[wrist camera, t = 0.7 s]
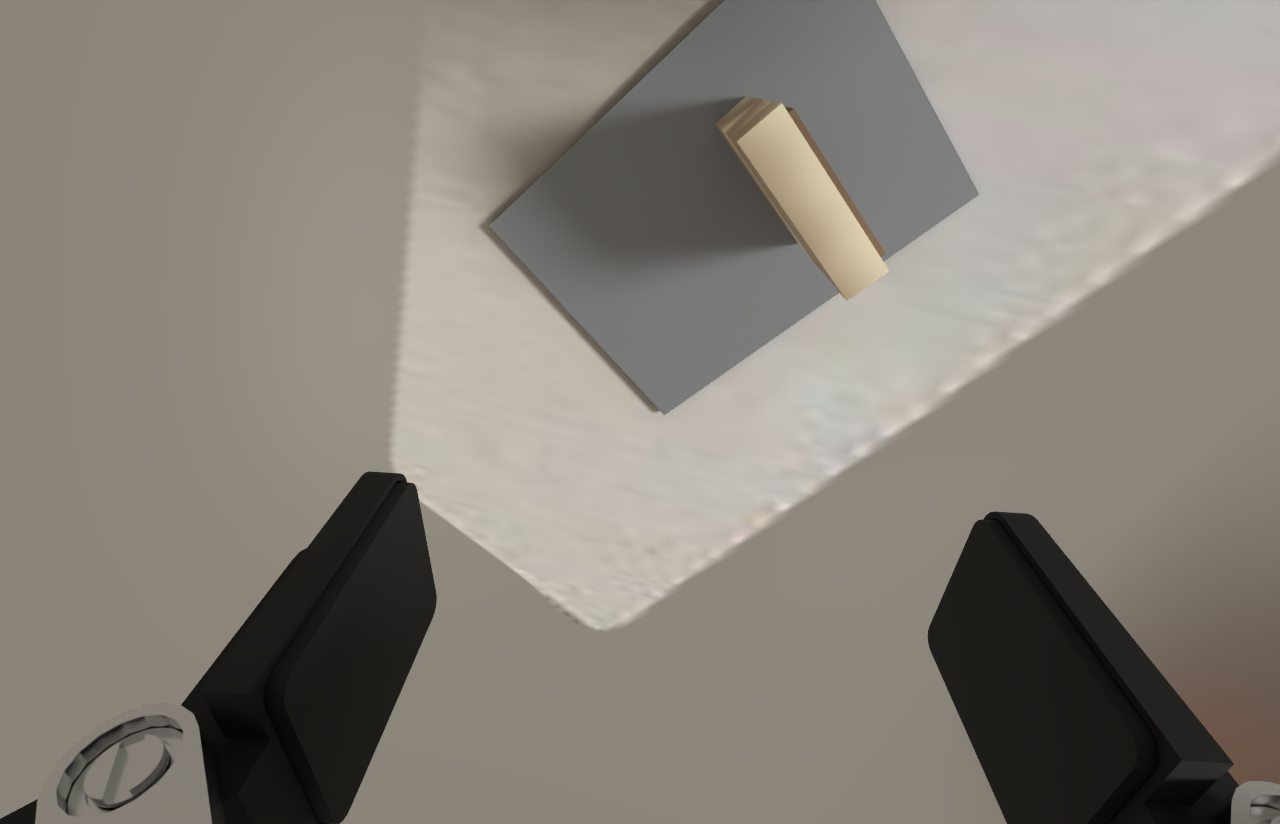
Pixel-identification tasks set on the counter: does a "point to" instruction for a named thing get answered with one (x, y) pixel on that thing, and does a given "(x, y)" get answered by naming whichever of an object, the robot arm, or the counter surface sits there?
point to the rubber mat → (729, 189)
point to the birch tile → (804, 192)
